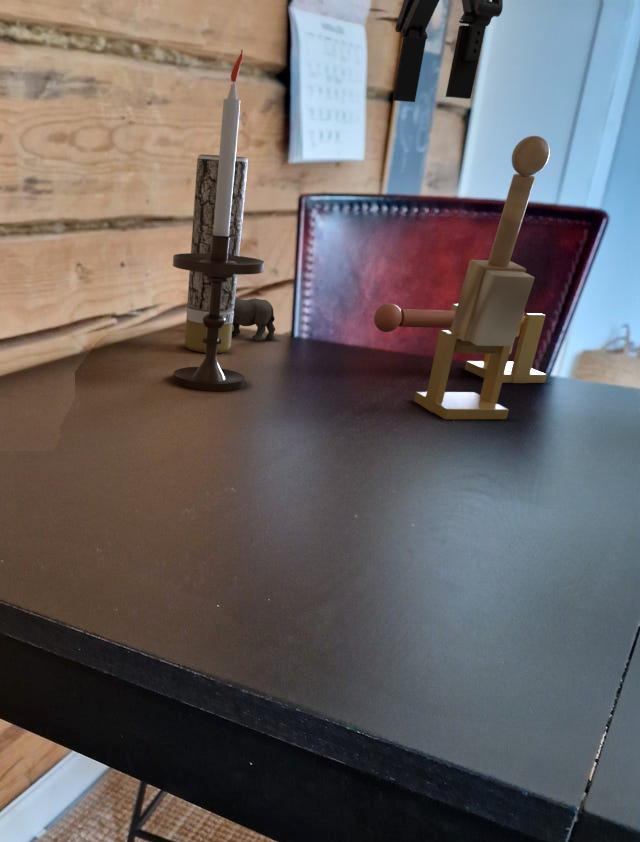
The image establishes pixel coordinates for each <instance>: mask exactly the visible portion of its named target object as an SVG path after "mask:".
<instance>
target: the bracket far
mask: <svg viewBox="0 0 640 842" xmlns="http://www.w3.org/2000/svg"><path fill="white" fill-rule="evenodd" d="M524 316H525V319H524V323H523V326H522V329H520V333H519V338H518V342H517V347H516V351H515V353H514V359H513V361H507V365H506V369H505V373H504V377H503V381H502V384H546V381H547V377H548V374H547V373H544V372H542V371H539V370H538V369H535V368H533V365H534V360H535V357H536V353H537V349H538V346H539V342H540V337H541V334H542V331H543V327H544V322H545V319H546V314H543V313H531V312H529V313H528V312H526V313H525V314H524ZM489 357H490V354H484V358H483V360H466V363H465V366H464V370H465V371H467V372H470V373H472V374H474V375H476V376H479V378H480V377H481V378H483V379H484V378H485V373H486V369H487V365H488V361H489Z"/></svg>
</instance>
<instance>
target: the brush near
mask: <svg viewBox="0 0 640 842" xmlns="http://www.w3.org/2000/svg"><path fill="white" fill-rule="evenodd" d="M549 158H550V146H549V144H548V142H547V141H546V139H545V138H543V137H542V136H539V135H531V136H526V137H524V138H523V139H521V140H520V141H519V142H518V143H517V144H516V145H515V147H514V148H513V151H512V153H511V165H512V168H513V170H514V172H516V173H514V174H512V179H511V182H510V184H509V185H510V186H509V189H508V192H507V196H506V199H505V203H504V206H503V210H502V212H501V216H500V220H499V223H498V226H497V230H496V234H495V236H494V240H493V244H492V248H491V251H490V254H489V258H488V259H487V260H486V259H470V260H469V263H468V267H467V270H466V274H465V278H464V281H463V284H462V288H461V291H460V295H459V299H458V302H457V304H458V306H457V309H456V313H455V316H454V320H453V323H452V327H451V332H453V333H456V334H457V339H456V343H455V348H454V352H453V354H471V353H489V354H493V353H495V352H496V351H497V349H498V346H513V347H514V344H515V339H516V334H517V331H518V328H519V325H520V322H521V319H522V316H523V313H524V312H525V309H526V306H527V303H528V300H529V297H530V294H531V291H532V287H533V284H534V281H535V279H536V278H535V276H533V275H531V274H529V273H527V268H526V267H524V266H522V265H520V264H518V263H515V262H513V261H511V258H512V256H513V252H514V249H515V245H516V243H517V239H518V236H519V233H520V229H521V226H522V223H523V219H524V217H525V213H526V211H527V210H526V209H527V206H528V204H529V199H530V197H531V192H532V190H533V186H534V183H535V180H536V176H534V175H536V174H539V172H541V171H542V170H543V169H544V167H546V165H547V163H548V161H549ZM524 314H525V313H524ZM513 343H514V344H513Z"/></svg>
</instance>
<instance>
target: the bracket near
mask: <svg viewBox="0 0 640 842" xmlns="http://www.w3.org/2000/svg"><path fill="white" fill-rule="evenodd" d="M456 339H457V334H456V333H453V332H451V331H450V330H449V329H440V330H439V332H438V338H437V342H436V347H435V351H434V356H433V362H432V367H431V371H430V375H429V380H428V384H427V390H426V391H415V394H414V395H415V396H414V398H413V399H414V400H413V402H414V403H416V404H418V405H419V406H421V407H423V408H424V409H425V410H427V411H428V412H431V413H433V414H435V415H437V416H439V417H440V418H442V419H443V420H507V418H508V414H509V408H507V407H505V406H503V405H501V404H499V403H498V400H499V396H500V393H501V389H502V384H503V383H502V381H503V377H504V373H505V369H506V365H507V362H509V356H510V354H509V353H510V349H511V346H498V349H497V351H496V352H495V353H493V354H490V357H489V361H488V365H487V369H486V373H485V378H483V382H482V386H481V391H480V394H479V393H477V392H475V391H446V388H447V383H448V380H449V375H450V370H451V366H452V361H453V356H454V353H453V352H454V348H455V343H456Z"/></svg>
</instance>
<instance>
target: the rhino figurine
mask: <svg viewBox="0 0 640 842" xmlns="http://www.w3.org/2000/svg"><path fill="white" fill-rule="evenodd" d="M274 312H275V311H274V307H273V305H272V304H271V302H269V300H267V299H260V298H250V299H242V298H239V297H237V296H235V305H234V316H233V324H232V335H231V337H233V336H239V335H240V334H241V330H240V327H251V326H254V325H255V326H256V327H257V329H256V332H255V334H254V335H253V336H252V337H251V340H252V341H256V342H258V341H263V339H264V338H263V335H264V334H265V333H266V330H267V332H268V333H267V334H266V336H265V340H267V341H273V340H276V338H275V331H276V327H275V325H274V321H275V315H274Z"/></svg>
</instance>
